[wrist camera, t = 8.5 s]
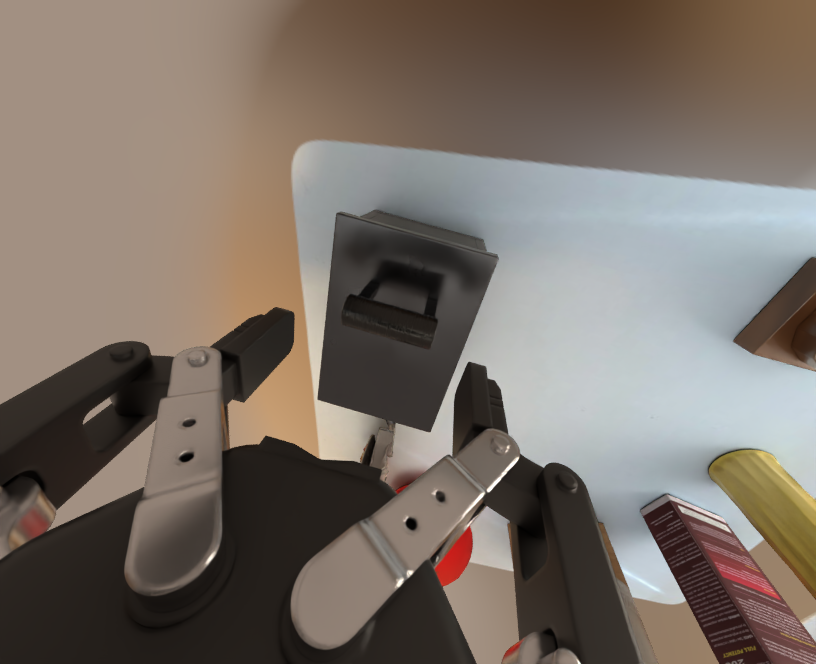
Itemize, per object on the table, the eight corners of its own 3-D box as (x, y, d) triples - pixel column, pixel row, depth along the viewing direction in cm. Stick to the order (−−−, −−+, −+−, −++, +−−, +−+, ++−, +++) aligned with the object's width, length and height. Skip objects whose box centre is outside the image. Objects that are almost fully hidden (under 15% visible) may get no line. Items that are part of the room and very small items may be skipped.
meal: (370, 391, 37) (329, 489, 25) (403, 398, 37) (377, 501, 25) (361, 466, 44) (327, 569, 33) (389, 473, 44) (365, 579, 33)
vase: (719, 490, 36) (856, 661, 23) (697, 461, 34) (832, 627, 22) (784, 473, 33) (977, 655, 21) (763, 440, 31) (958, 616, 19)
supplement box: (636, 510, 39) (730, 692, 26) (666, 491, 37) (786, 682, 23) (692, 534, 40) (813, 725, 26) (725, 517, 38) (877, 718, 24)
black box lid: (340, 211, 18) (297, 225, 14) (497, 254, 18) (511, 285, 13) (320, 393, 26) (288, 444, 21) (431, 426, 26) (424, 485, 21)
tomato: (409, 457, 42) (394, 543, 32) (486, 498, 43) (493, 591, 34) (372, 495, 47) (349, 577, 38) (440, 530, 49) (435, 617, 39)
